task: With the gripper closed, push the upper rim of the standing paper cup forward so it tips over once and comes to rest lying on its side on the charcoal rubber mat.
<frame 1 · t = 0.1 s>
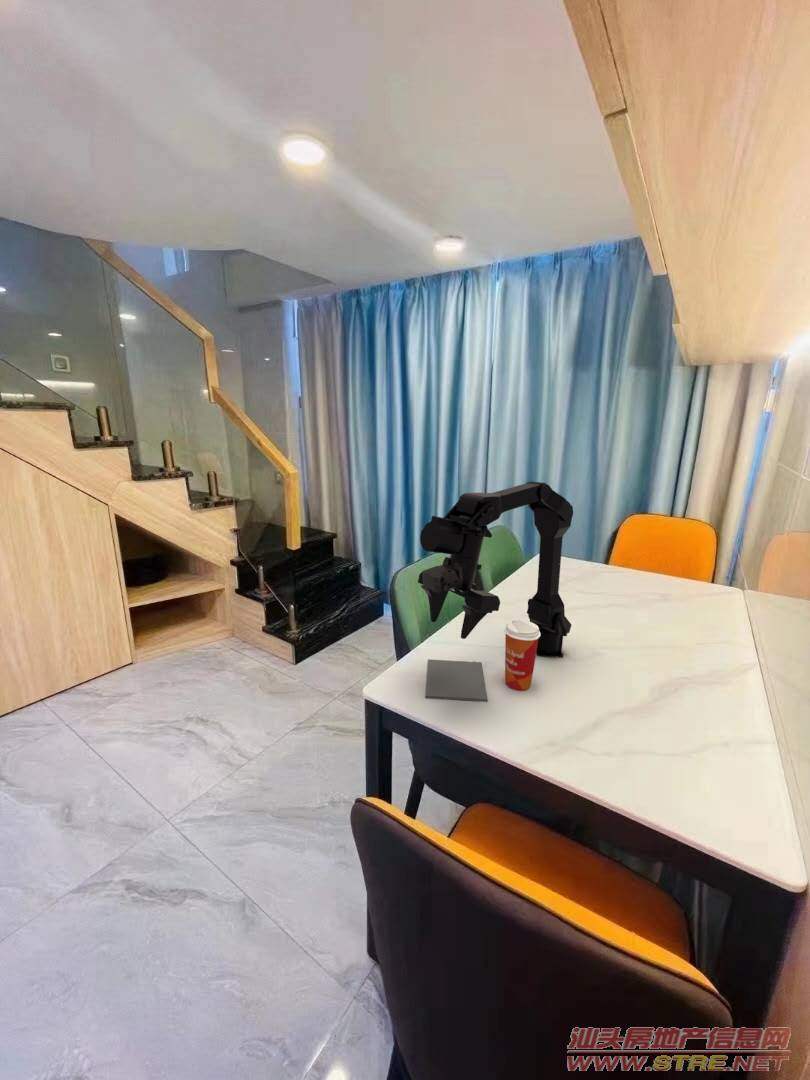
hand: (447, 629, 90), 15 cm above the table, tool pointing down, fingers open, 9 cm apart
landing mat: (455, 680, 100), on the table
paper cup: (517, 684, 99), on the table
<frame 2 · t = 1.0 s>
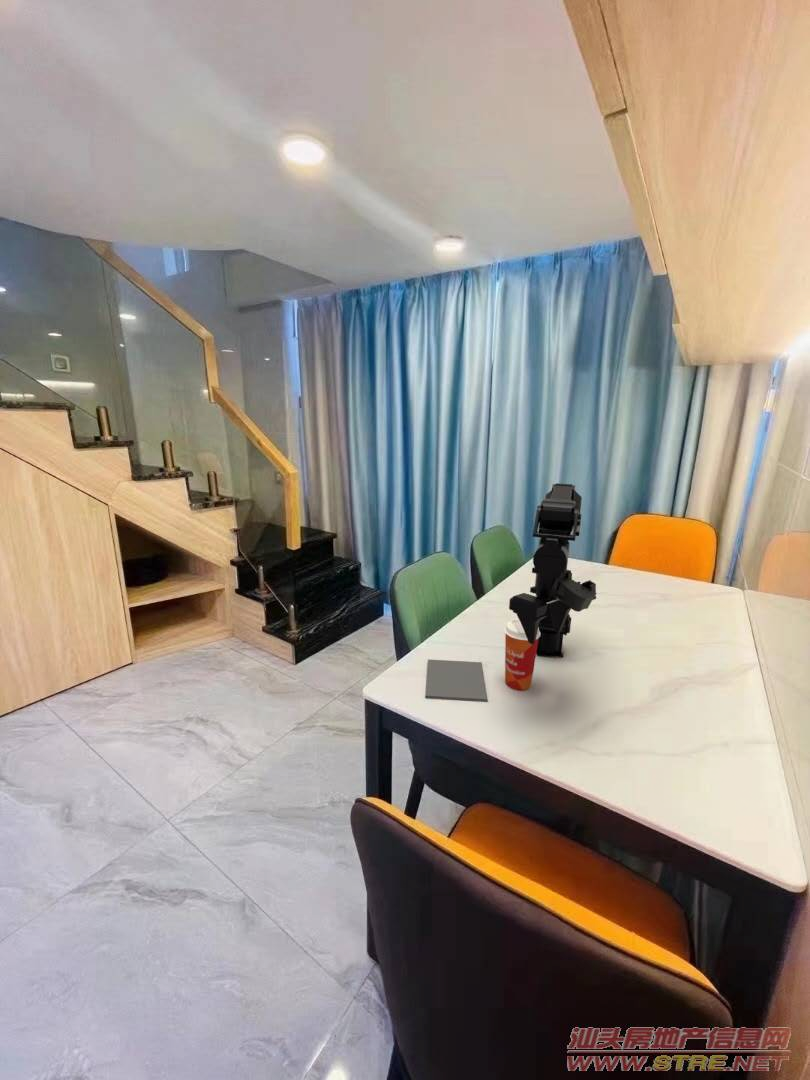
hand: (544, 637, 91), 14 cm above the table, tool pointing down, fingers open, 9 cm apart
nothing on the table moved.
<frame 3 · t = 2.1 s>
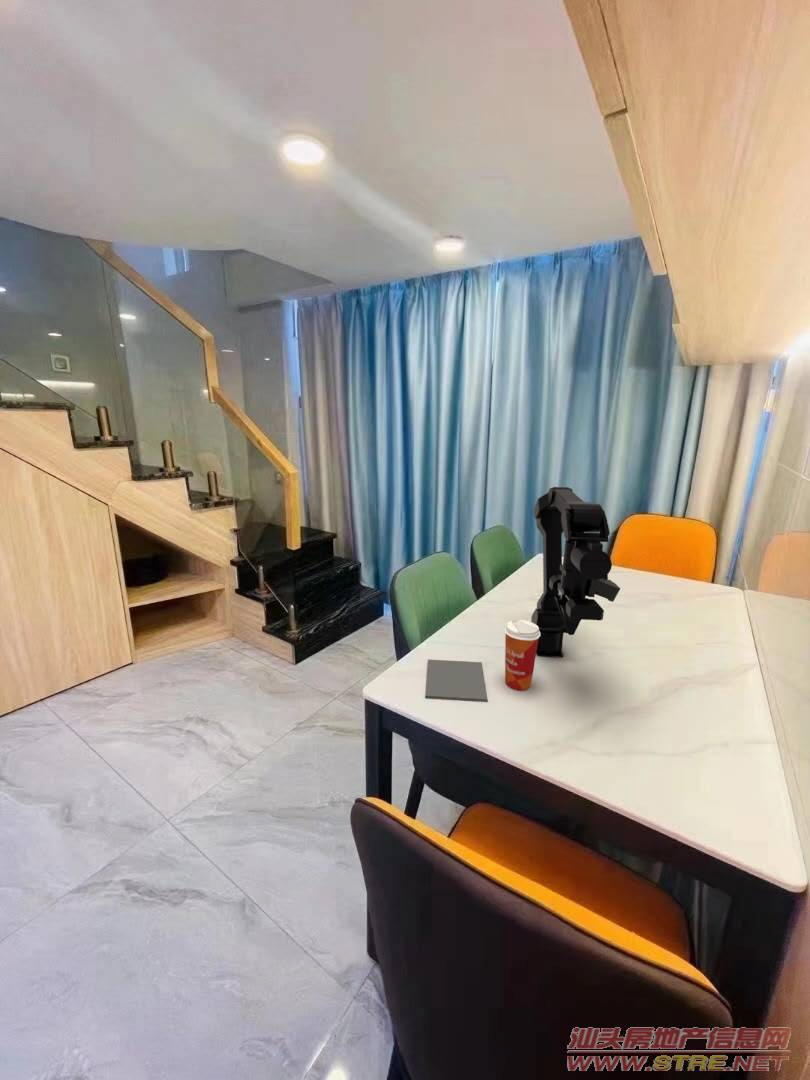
hand: (569, 632, 95), 13 cm above the table, tool pointing down, fingers closed
nothing on the table moved.
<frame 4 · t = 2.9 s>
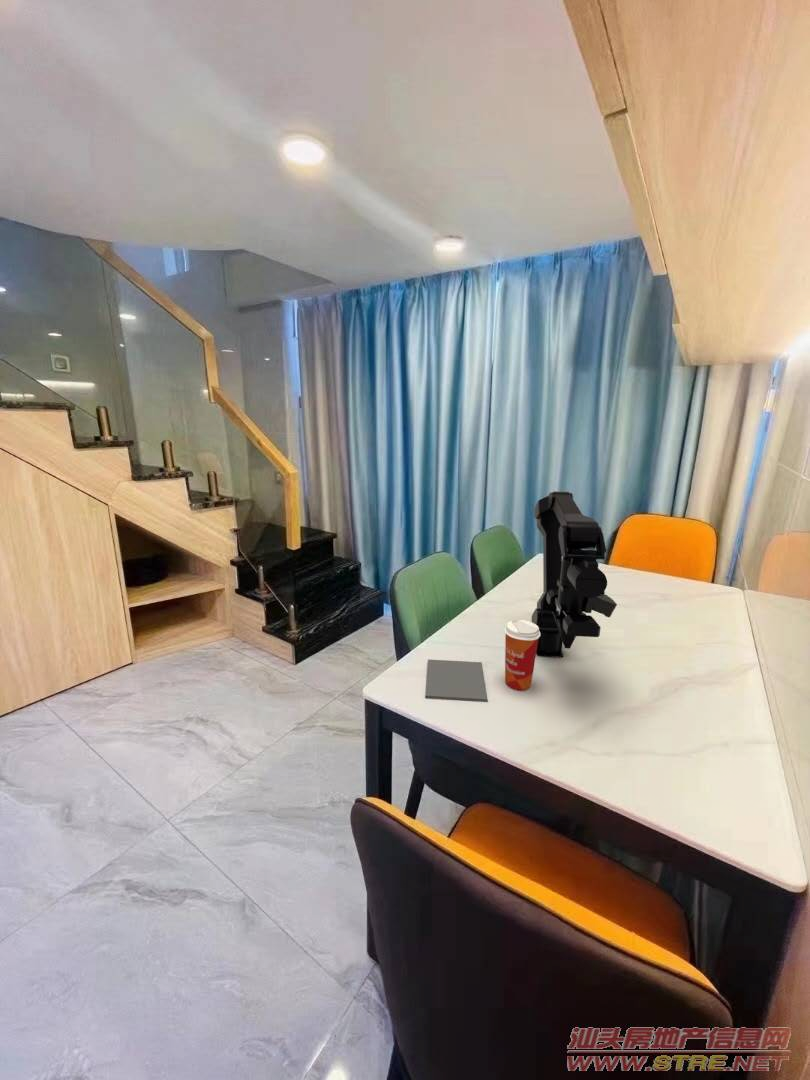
hand: (566, 647, 96), 10 cm above the table, tool pointing down, fingers closed
nothing on the table moved.
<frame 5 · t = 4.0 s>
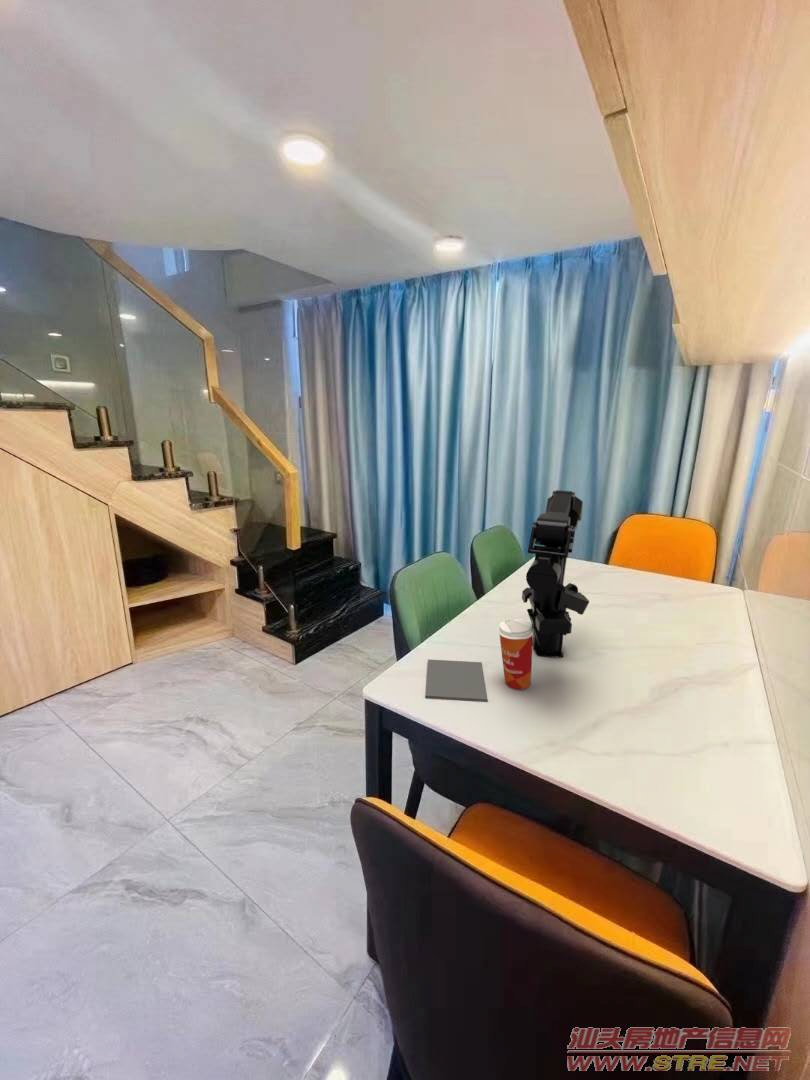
hand: (541, 645, 96), 10 cm above the table, tool pointing down, fingers closed, pressing on paper cup
paper cup: (518, 683, 99), on the table, touching gripper
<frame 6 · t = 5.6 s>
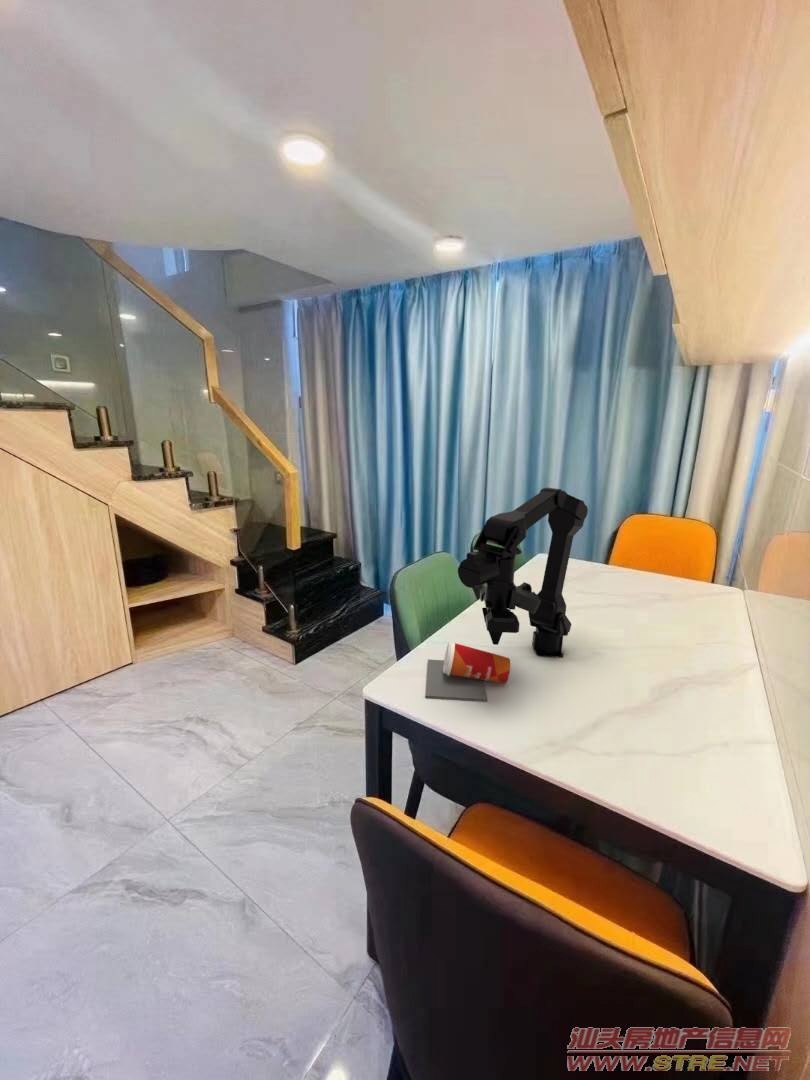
hand: (495, 643, 97), 10 cm above the table, tool pointing down, fingers closed
paper cup: (508, 670, 99), point 3 cm above the table, touching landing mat
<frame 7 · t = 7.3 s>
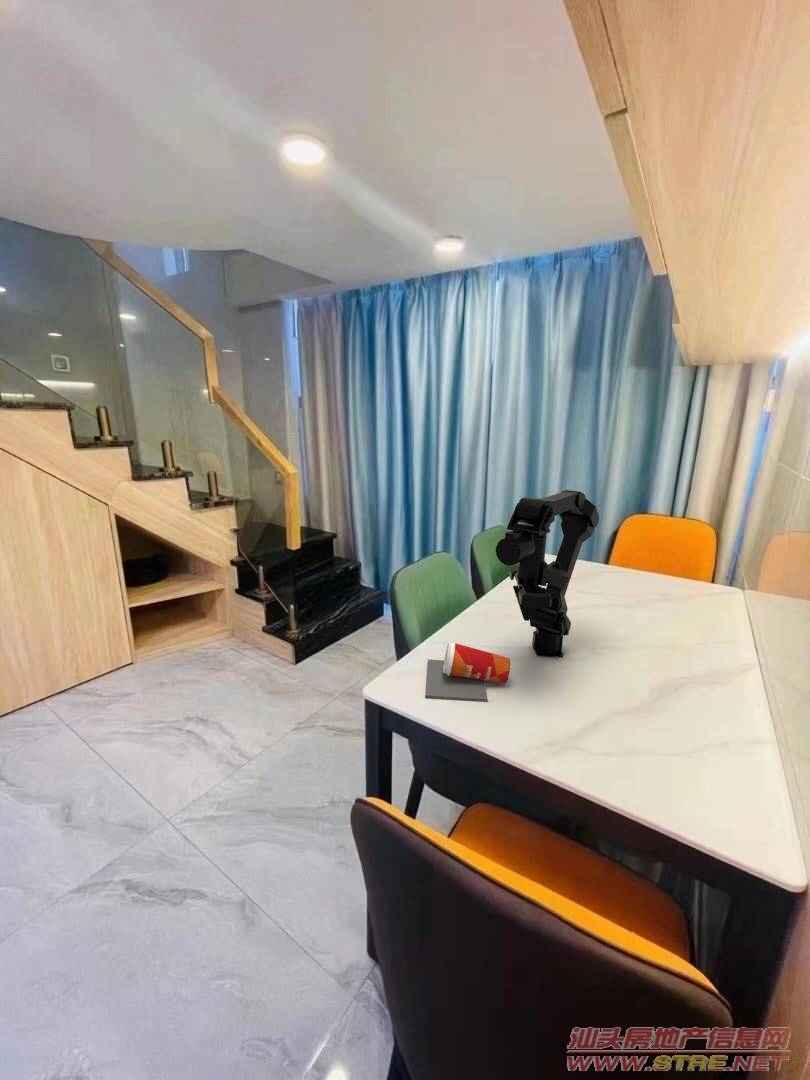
hand: (526, 619, 101), 13 cm above the table, tool pointing down, fingers closed
paper cup: (508, 670, 99), point 3 cm above the table, touching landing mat
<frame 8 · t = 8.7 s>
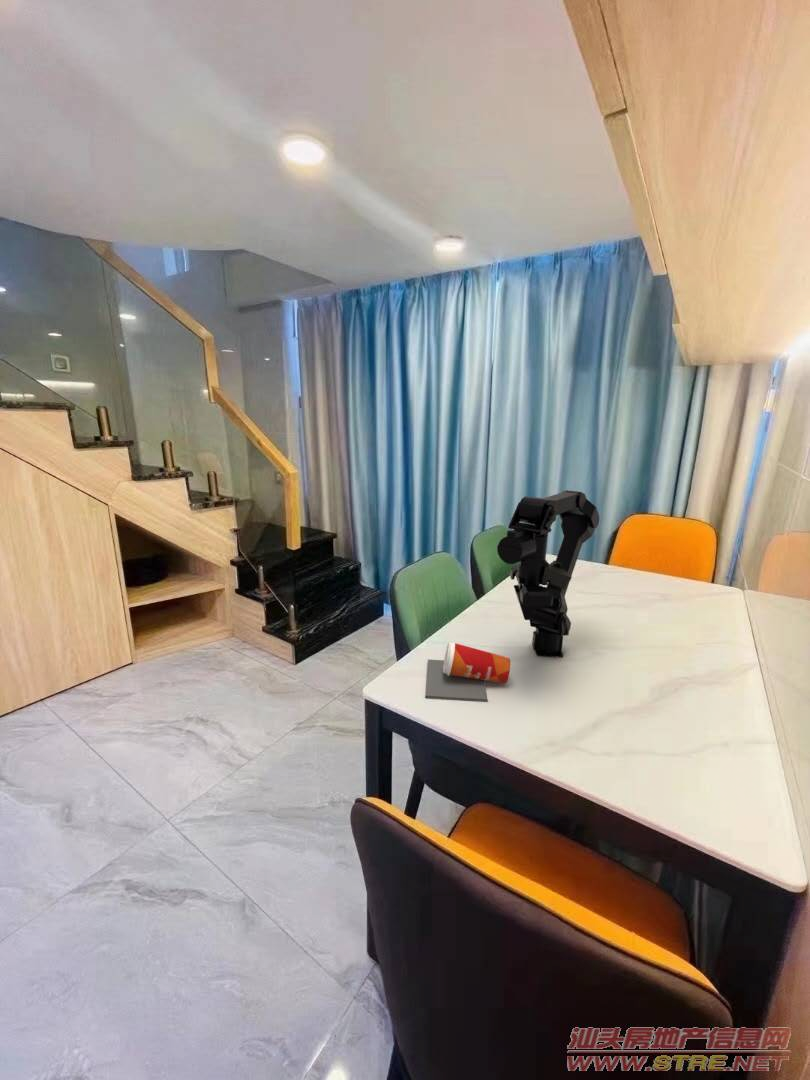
hand: (526, 619, 101), 13 cm above the table, tool pointing down, fingers closed
nothing on the table moved.
at the end: paper cup tilted 80°; paper cup touching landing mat, table; paper cup inside the target area (7.7 cm from its centre), point 2.8 cm above the table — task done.
